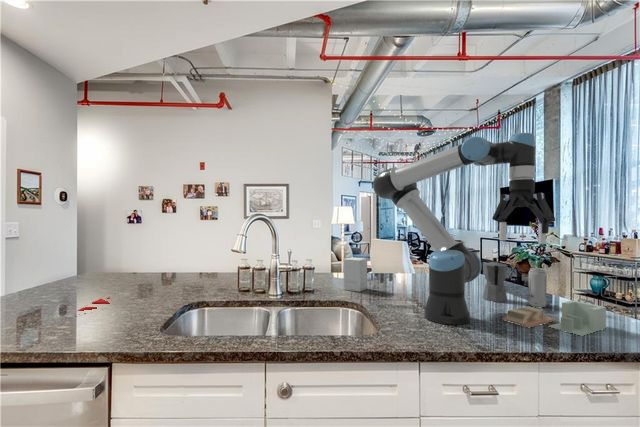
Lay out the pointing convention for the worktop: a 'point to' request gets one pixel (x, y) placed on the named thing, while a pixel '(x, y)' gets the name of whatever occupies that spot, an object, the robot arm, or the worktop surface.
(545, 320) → the terracotta tile
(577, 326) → the pocket block
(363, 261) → the supplement box
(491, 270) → the coffeepot
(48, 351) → the worktop surface
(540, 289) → the energy drink can
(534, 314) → the beech bar
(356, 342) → the worktop surface
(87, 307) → the cloth
